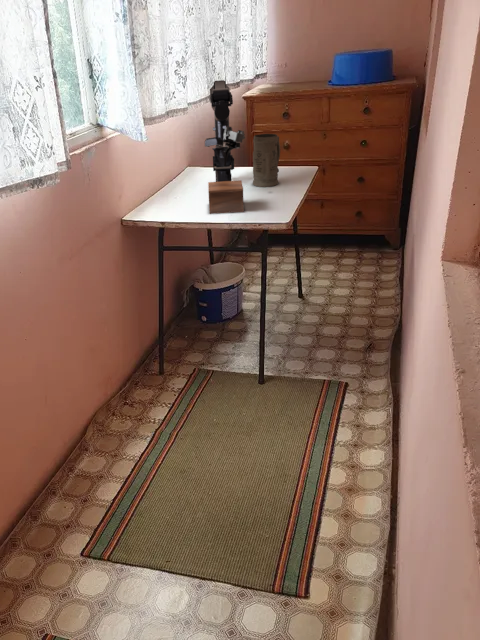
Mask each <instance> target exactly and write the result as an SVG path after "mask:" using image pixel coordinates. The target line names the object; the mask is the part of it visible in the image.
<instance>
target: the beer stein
mask: <svg viewBox="0 0 480 640" xmlns="http://www.w3.org/2000/svg"><path fill="white" fill-rule="evenodd" d="M280 144H281V143H280V136H279V135H278V134H276V133H261V134H255V135H254V136H253V152H252V177H253V181H252V186H255V187H259V188H269V187H274V186H277V185H278V184H279V178H278V177H279V172H280V169H279V161H280V157H281V145H280Z"/></svg>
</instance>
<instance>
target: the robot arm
mask: <svg viewBox="0 0 480 640" xmlns="http://www.w3.org/2000/svg"><path fill="white" fill-rule="evenodd" d="M226 81H227V80H225V79H224V80H223V79H222V80H214V81H213V85H212V86H211V87H210V88H209V103H210V104H211V105H210V106H211V109H212V111H213V116H214V117H213V118H214V120H213V121H214V127H212V131H214V137H208V138H207V137H206V138H205V140H204V147H206V148H210V147H212V146H214V147H213V148H212V151H213V154H214V155H213V156H212V170H213V172H214V173H215V182H222V181H233V180H232V173H231V172H232V171H233V170H235V158H234V156H233V154H232V152H231V151H232V150H234V149H241V143H243V140H244V139H246V136H245V131H244V130H241V129H238V130H237V131H234V130H233V127H232V126H230V113H231V112H230V111H231V110H230V108H229V107H232V105H233V104H234V101H233V100H234V99H233V98H234V97H233V94H232V92H231V88H230V87H229V86H228V84H227V82H226Z"/></svg>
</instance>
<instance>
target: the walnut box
mask: <svg viewBox="0 0 480 640" xmlns="http://www.w3.org/2000/svg"><path fill="white" fill-rule="evenodd" d="M208 208H209V209H208V212H209V214H210V215H212V214H213V215H214V214H227V213H228V214H229V213H244V209H245V208H244V190H243V191H231V192H215V193H209V192H208Z"/></svg>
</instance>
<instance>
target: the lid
mask: <svg viewBox="0 0 480 640" xmlns="http://www.w3.org/2000/svg"><path fill="white" fill-rule="evenodd" d="M207 185H208V186H207V188H208V191H207V192H208V194H209V193H215V192H231V191H243V192H244V186H243V182H242V180H241V179H240V180H239V179H237V180H232V181H222V182H216V181H209V182H208V183H207Z"/></svg>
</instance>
